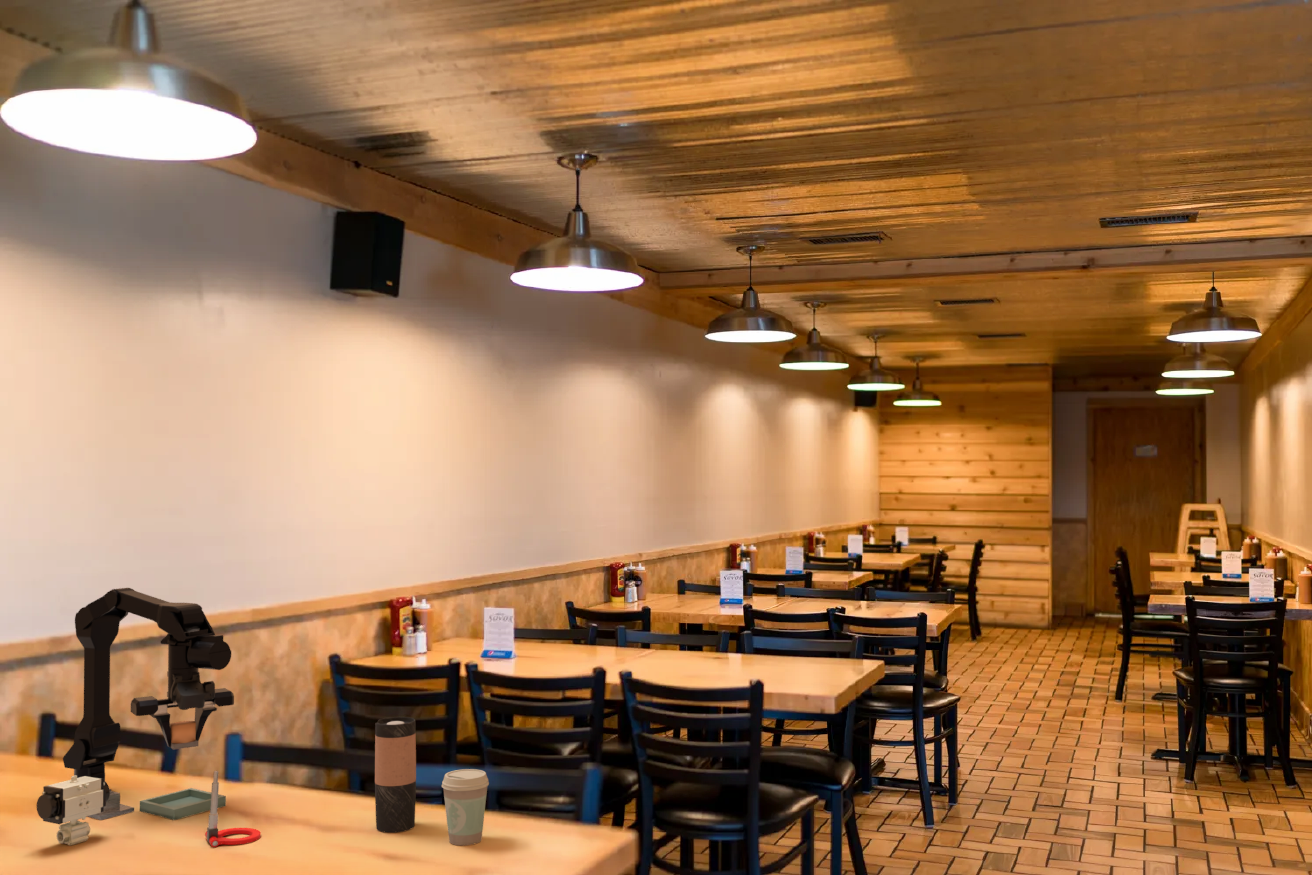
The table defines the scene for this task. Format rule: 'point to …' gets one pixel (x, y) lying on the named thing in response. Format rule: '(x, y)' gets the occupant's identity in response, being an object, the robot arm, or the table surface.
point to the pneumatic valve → (73, 806)
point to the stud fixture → (113, 808)
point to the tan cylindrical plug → (183, 734)
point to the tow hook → (215, 835)
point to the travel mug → (395, 774)
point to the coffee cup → (465, 805)
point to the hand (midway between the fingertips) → (182, 744)
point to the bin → (180, 804)
